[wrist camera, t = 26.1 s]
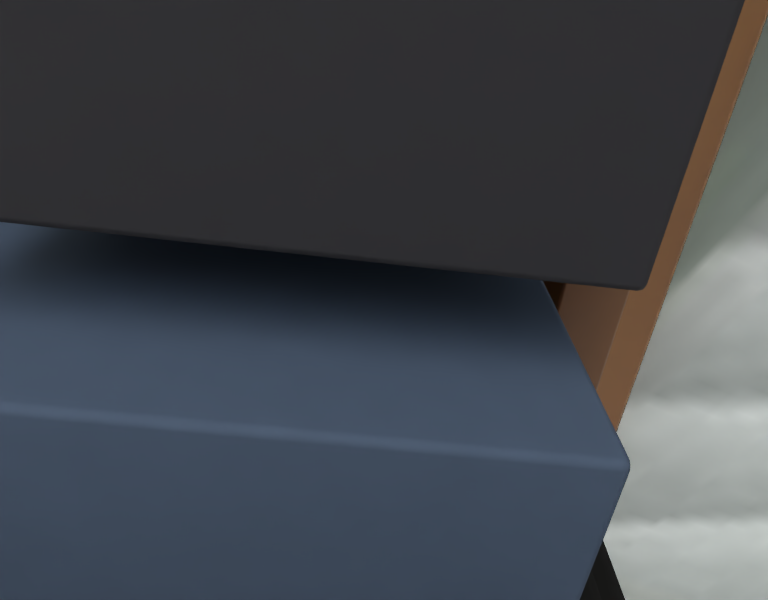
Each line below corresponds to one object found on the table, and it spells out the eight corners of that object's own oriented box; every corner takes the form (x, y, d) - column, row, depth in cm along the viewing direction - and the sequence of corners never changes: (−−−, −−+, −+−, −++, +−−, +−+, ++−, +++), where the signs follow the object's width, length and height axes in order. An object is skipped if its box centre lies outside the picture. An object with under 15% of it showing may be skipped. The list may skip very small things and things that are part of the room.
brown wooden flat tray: (1054, -898, 6) (1335, -1252, 4) (543, 585, 15) (564, 668, 14) (-341, -1201, 5) (-701, -1773, 4) (16, 542, 15) (-34, 623, 13)
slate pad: (513, 214, 9) (637, 465, 5) (427, 598, 13) (450, 937, 8) (71, 164, 9) (-242, 384, 4) (115, 574, 12) (-30, 915, 8)
